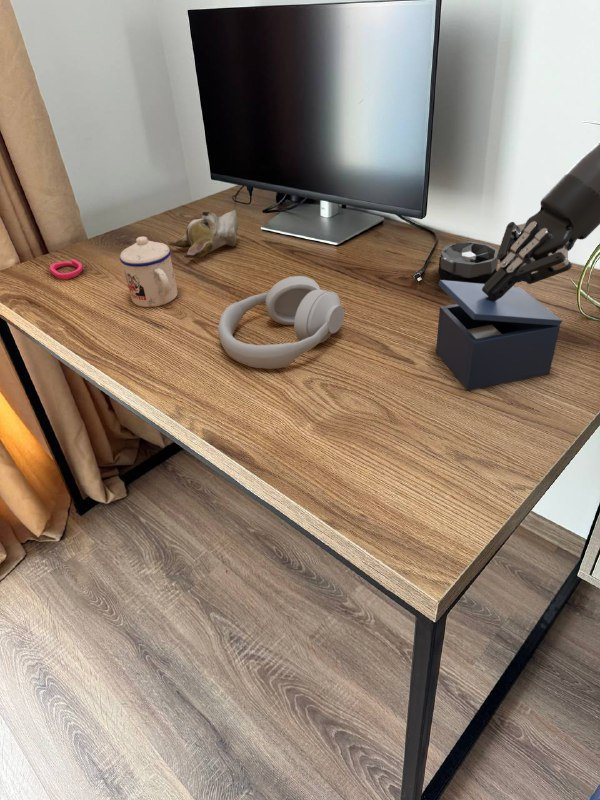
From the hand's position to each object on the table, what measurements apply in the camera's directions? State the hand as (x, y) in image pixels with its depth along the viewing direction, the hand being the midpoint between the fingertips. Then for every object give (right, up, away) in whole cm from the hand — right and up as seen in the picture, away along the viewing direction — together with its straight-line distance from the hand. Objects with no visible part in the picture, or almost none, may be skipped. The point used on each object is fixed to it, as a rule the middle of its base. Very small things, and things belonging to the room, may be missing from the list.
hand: (487, 295), depth 80 cm
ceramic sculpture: (-45, +18, +48) cm, 69 cm away
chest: (+3, -9, +7) cm, 11 cm away
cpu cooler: (+5, +8, +29) cm, 30 cm away
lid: (+2, -1, +1) cm, 2 cm away
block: (+1, -8, +6) cm, 11 cm away
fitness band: (-74, +12, +44) cm, 87 cm away
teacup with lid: (-52, +4, +31) cm, 61 cm away
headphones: (-28, -5, +16) cm, 33 cm away
